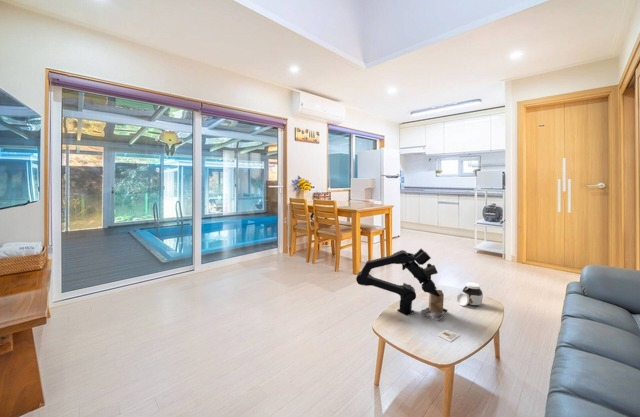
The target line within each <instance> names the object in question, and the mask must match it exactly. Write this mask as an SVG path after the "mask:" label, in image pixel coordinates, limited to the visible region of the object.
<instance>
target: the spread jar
mask: <svg viewBox="0 0 640 417" xmlns="http://www.w3.org/2000/svg"><path fill="white" fill-rule="evenodd" d="M480 287H481V285H480V284H479V283H477V282H473V281H471V282H470V281H468V282H466V283H465V286H464V287H463V289H462V292H460V293H458V294H457V296H456V302H457V304H458V305H460V306H463V307H464V306H469V307H473V308H476V307H477V308H478V307H479V306H481V304H482V303H483V297H484V296H483V295H484V294H483V290H482V289H481V288H480Z"/></svg>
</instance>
